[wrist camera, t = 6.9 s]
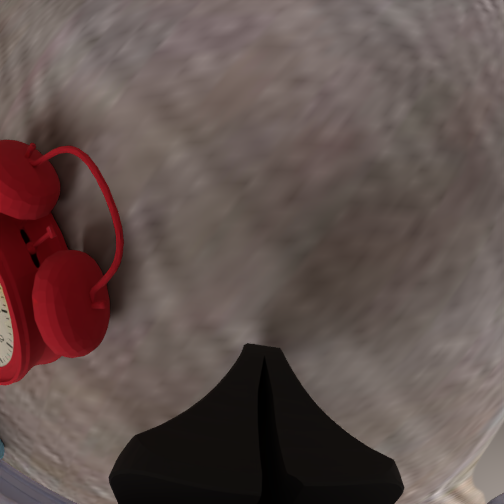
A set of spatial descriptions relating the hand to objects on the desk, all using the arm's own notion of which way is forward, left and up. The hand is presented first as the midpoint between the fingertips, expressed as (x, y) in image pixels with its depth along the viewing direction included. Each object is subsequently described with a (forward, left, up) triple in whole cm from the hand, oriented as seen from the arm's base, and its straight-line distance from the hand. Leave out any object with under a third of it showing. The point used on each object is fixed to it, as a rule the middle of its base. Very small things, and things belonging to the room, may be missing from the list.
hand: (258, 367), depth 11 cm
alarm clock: (+12, -1, -2) cm, 12 cm away
